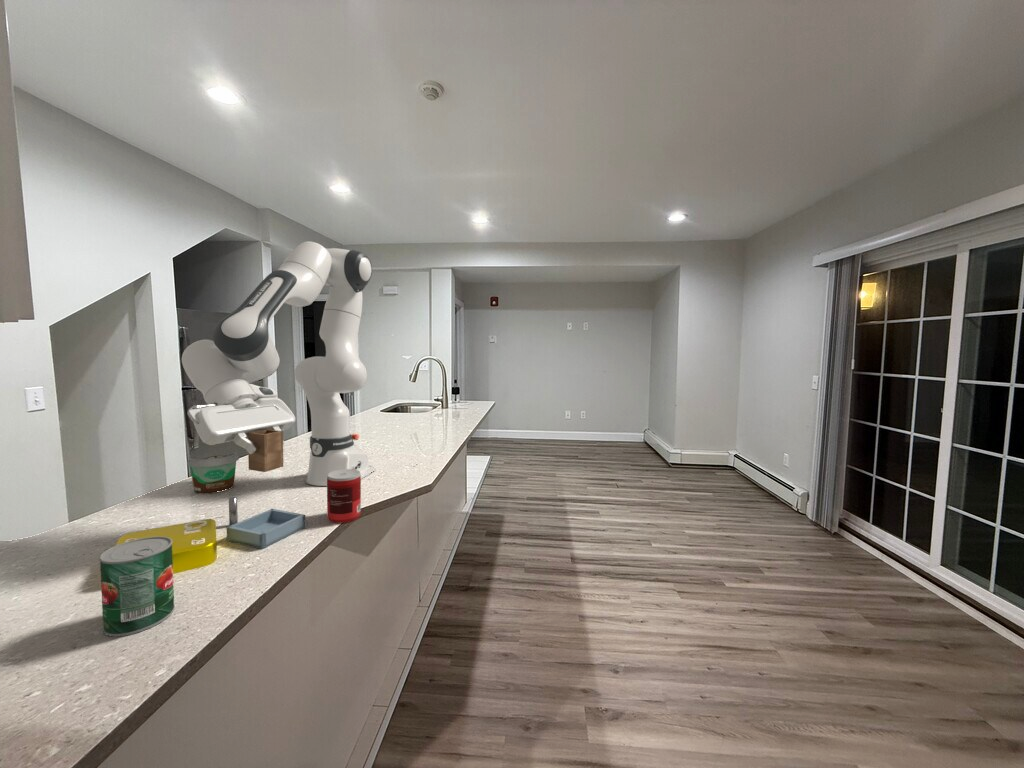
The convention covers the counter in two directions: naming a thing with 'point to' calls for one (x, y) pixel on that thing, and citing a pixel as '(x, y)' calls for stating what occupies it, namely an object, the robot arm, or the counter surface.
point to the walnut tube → (266, 450)
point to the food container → (213, 473)
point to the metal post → (233, 511)
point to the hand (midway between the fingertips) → (268, 448)
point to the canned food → (343, 495)
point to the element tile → (185, 543)
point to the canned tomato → (137, 585)
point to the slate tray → (266, 528)
